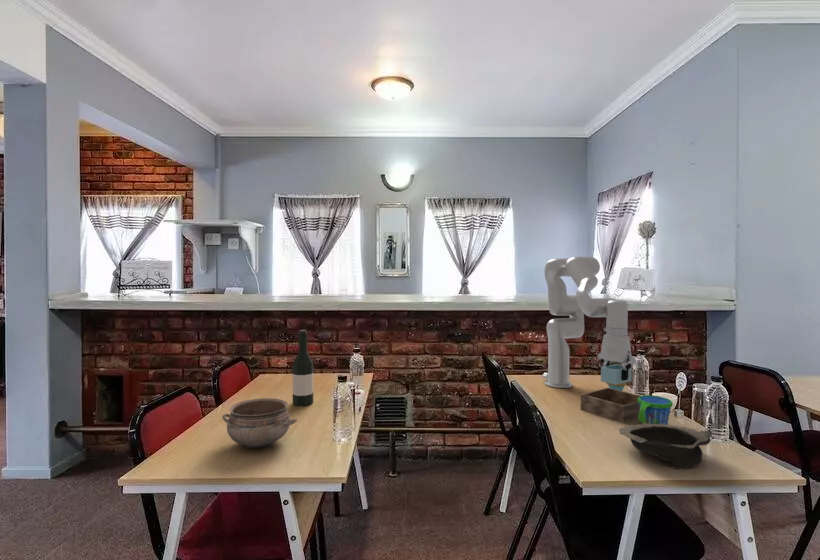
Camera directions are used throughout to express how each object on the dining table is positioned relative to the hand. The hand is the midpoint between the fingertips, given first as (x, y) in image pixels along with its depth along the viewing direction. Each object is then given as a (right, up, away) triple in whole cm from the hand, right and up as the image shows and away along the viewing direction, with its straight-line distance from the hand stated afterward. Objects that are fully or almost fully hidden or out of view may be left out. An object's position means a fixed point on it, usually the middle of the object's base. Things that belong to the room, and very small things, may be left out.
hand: (616, 377), depth 178 cm
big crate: (0, -13, +1) cm, 13 cm away
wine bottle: (-124, -13, +10) cm, 125 cm away
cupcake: (+13, -13, +28) cm, 34 cm away
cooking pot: (-127, -14, -33) cm, 133 cm away
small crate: (0, -1, 0) cm, 1 cm away
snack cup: (+6, -14, -17) cm, 23 cm away
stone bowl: (-4, -15, -40) cm, 43 cm away
